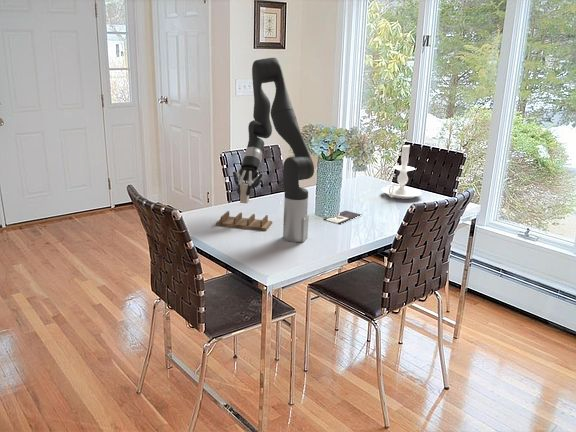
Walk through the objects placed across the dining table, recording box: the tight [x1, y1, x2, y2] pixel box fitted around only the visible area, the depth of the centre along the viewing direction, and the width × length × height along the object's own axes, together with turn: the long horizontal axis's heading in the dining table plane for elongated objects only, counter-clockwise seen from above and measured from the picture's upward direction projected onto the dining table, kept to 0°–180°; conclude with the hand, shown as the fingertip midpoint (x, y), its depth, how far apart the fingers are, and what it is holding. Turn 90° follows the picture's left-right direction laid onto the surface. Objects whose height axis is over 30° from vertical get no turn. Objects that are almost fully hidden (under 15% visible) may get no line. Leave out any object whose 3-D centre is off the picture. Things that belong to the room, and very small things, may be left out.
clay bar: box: [239, 182, 250, 204], centre depth 221 cm, size 3×3×8 cm
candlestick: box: [381, 144, 422, 200], centre depth 272 cm, size 21×25×28 cm
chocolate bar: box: [323, 210, 362, 225], centre depth 239 cm, size 9×1×18 cm
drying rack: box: [215, 210, 273, 232], centre depth 224 cm, size 22×10×4 cm, turn 77°
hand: (243, 194), depth 219 cm, fingers closed on clay bar, 3 cm apart
